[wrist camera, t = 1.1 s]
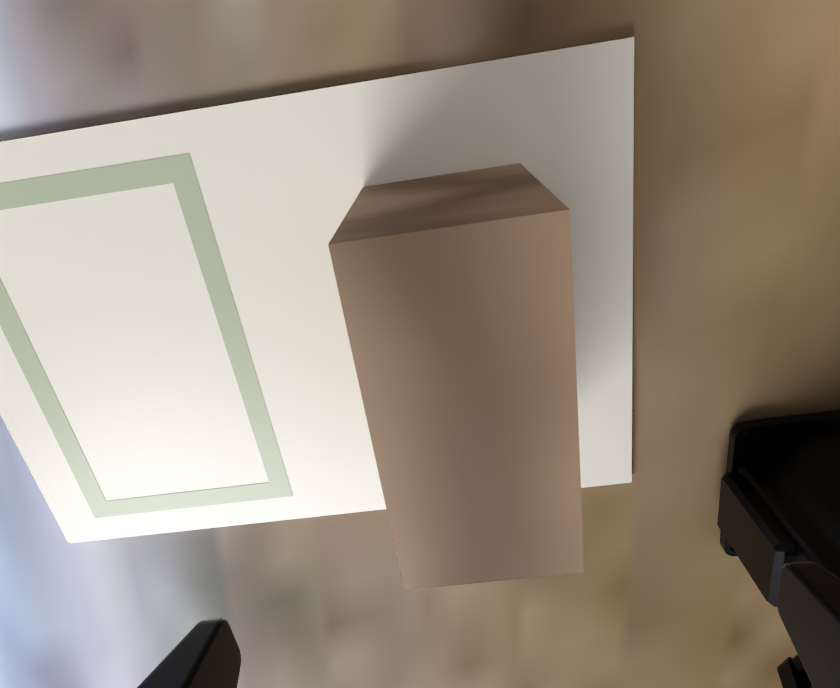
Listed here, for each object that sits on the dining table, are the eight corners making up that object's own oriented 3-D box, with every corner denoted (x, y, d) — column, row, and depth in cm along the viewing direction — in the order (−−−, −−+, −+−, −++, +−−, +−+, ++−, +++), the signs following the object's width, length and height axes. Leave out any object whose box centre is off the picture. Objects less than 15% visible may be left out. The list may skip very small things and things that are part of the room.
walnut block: (520, 162, 18) (569, 209, 12) (539, 430, 22) (584, 572, 16) (362, 186, 18) (327, 244, 12) (411, 445, 22) (404, 589, 16)
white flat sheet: (630, 37, 17) (634, 36, 16) (629, 477, 23) (631, 482, 23) (-125, 162, 19) (-134, 163, 18) (72, 538, 25) (68, 543, 25)
